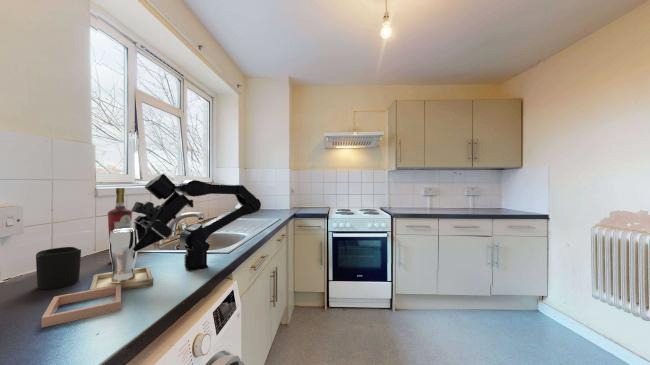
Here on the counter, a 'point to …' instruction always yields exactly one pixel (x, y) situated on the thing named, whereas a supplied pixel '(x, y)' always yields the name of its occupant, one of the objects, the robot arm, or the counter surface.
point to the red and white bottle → (119, 214)
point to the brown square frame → (67, 316)
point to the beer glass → (123, 254)
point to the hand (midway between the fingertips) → (130, 247)
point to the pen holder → (58, 267)
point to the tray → (141, 280)
